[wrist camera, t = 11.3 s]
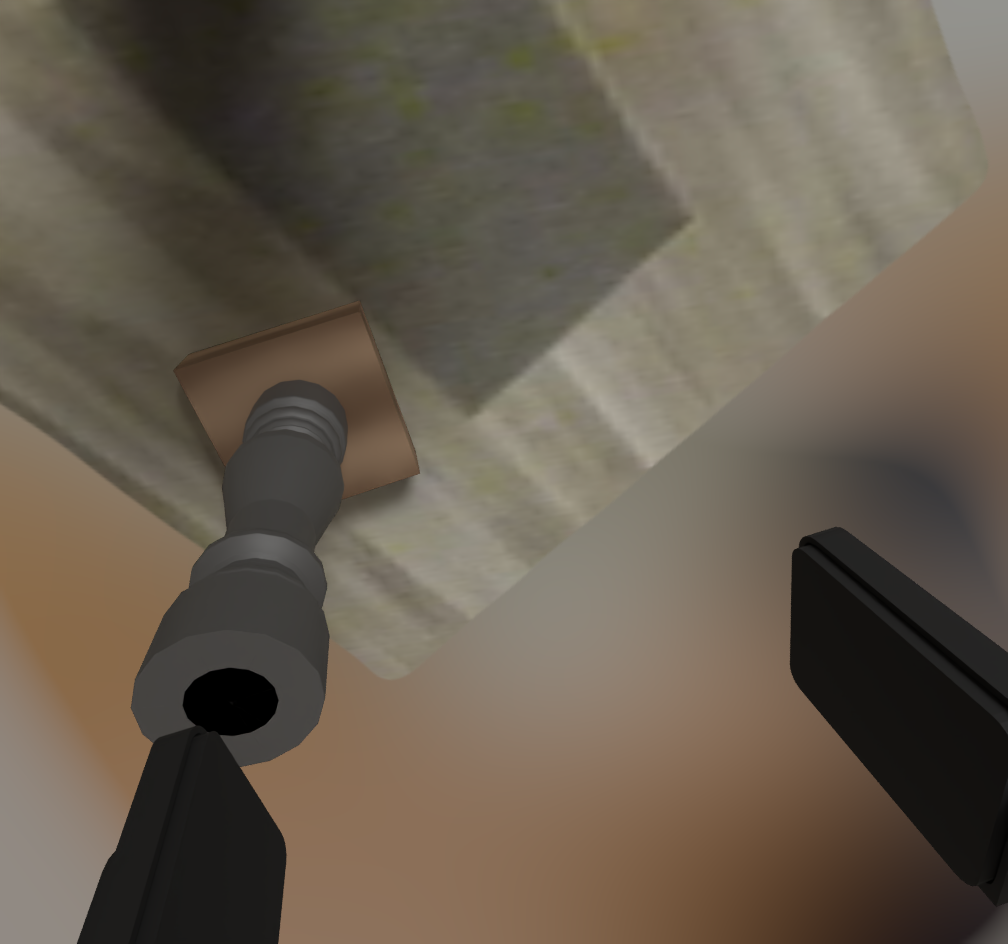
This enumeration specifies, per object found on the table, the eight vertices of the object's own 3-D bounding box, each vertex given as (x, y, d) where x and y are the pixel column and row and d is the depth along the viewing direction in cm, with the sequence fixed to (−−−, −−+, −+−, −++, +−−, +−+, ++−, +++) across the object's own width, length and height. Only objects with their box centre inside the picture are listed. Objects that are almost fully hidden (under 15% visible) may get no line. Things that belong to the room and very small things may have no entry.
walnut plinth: (188, 354, 42) (173, 370, 39) (359, 300, 43) (359, 311, 40) (265, 501, 48) (257, 527, 44) (415, 451, 49) (419, 473, 45)
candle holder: (363, 403, 42) (364, 655, 20) (325, 480, 44) (288, 789, 22) (271, 363, 40) (160, 597, 18) (236, 445, 42) (93, 751, 20)
